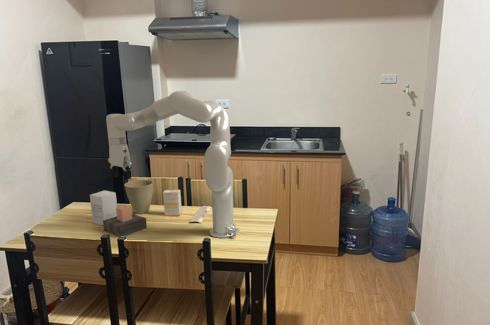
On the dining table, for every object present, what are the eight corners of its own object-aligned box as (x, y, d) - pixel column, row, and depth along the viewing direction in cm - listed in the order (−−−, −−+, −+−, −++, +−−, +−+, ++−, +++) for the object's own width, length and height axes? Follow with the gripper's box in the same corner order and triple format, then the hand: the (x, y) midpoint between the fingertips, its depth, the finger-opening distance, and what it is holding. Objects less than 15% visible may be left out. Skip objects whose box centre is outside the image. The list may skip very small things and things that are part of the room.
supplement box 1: (107, 217, 194) (104, 189, 191) (119, 220, 190) (116, 192, 187) (92, 223, 187) (89, 194, 183) (104, 226, 182) (101, 196, 179)
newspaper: (200, 208, 207) (200, 205, 206) (213, 209, 206) (213, 206, 206) (189, 224, 184) (188, 221, 184) (203, 225, 183) (202, 221, 183)
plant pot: (140, 206, 212) (137, 178, 209) (161, 209, 205) (159, 181, 202) (120, 214, 199) (118, 185, 196) (142, 218, 192) (140, 188, 189)
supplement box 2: (182, 213, 198) (180, 189, 196) (179, 216, 194) (178, 192, 191) (167, 213, 199) (165, 189, 196) (164, 216, 194) (162, 192, 192)
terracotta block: (132, 218, 177) (131, 206, 176) (123, 222, 173) (121, 209, 172) (126, 216, 180) (125, 204, 179) (117, 219, 176) (115, 207, 175)
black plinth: (146, 228, 179) (146, 218, 178) (121, 237, 168) (120, 227, 167) (129, 221, 187) (128, 212, 186) (104, 230, 177) (103, 220, 176)
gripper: (136, 141, 167) (139, 178, 170) (114, 139, 177) (117, 174, 181) (121, 144, 161) (125, 182, 164) (99, 141, 171) (103, 177, 175)
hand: (121, 178), depth 172 cm, fingers open, 9 cm apart
